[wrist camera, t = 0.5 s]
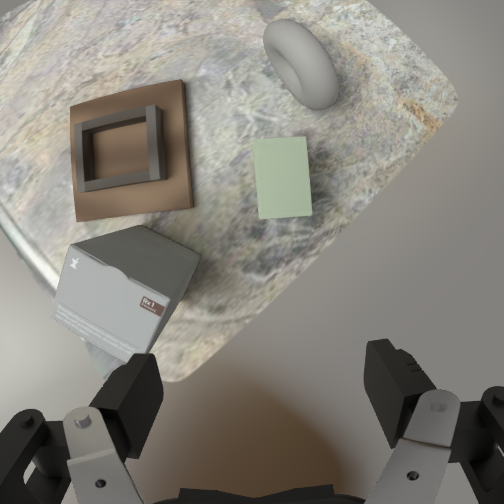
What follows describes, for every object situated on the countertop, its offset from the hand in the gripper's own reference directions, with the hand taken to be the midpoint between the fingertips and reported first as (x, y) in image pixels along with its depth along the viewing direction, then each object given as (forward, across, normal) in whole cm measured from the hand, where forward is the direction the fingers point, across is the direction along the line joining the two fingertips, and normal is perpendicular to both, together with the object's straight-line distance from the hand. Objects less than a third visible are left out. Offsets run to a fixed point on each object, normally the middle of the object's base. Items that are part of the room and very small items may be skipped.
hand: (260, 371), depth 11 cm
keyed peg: (+24, -2, -7) cm, 25 cm away
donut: (+24, -5, -18) cm, 31 cm away
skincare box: (+24, +11, +1) cm, 26 cm away
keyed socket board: (+24, +14, -12) cm, 30 cm away
